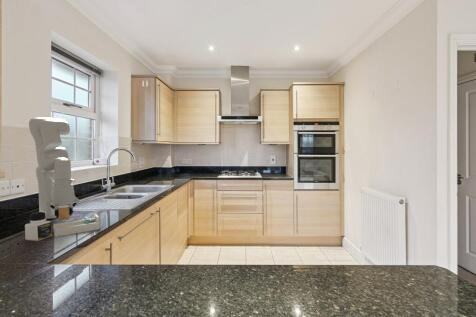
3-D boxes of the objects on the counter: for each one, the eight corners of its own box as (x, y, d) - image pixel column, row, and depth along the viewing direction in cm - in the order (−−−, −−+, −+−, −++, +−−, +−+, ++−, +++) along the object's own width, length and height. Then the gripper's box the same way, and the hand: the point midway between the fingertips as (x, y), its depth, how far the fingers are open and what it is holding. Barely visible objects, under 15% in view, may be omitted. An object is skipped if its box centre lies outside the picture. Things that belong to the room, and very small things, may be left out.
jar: (57, 218, 146) (56, 204, 146) (69, 216, 149) (69, 203, 149) (57, 220, 141) (57, 206, 141) (70, 219, 145) (70, 205, 144)
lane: (53, 230, 137) (53, 219, 137) (96, 224, 148) (95, 213, 148) (54, 236, 128) (54, 223, 128) (99, 229, 139) (99, 217, 139)
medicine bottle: (38, 241, 122) (37, 214, 122) (25, 240, 124) (23, 213, 123) (52, 235, 129) (51, 210, 129) (39, 235, 131) (38, 210, 130)
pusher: (84, 224, 143) (84, 216, 143) (93, 222, 146) (93, 215, 146) (86, 227, 137) (86, 219, 137) (96, 226, 139) (96, 218, 139)
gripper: (80, 180, 152) (81, 212, 153) (42, 182, 142) (44, 217, 143) (82, 181, 146) (83, 215, 147) (43, 184, 136) (44, 220, 137)
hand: (63, 215), depth 145 cm, fingers closed on jar, 5 cm apart
